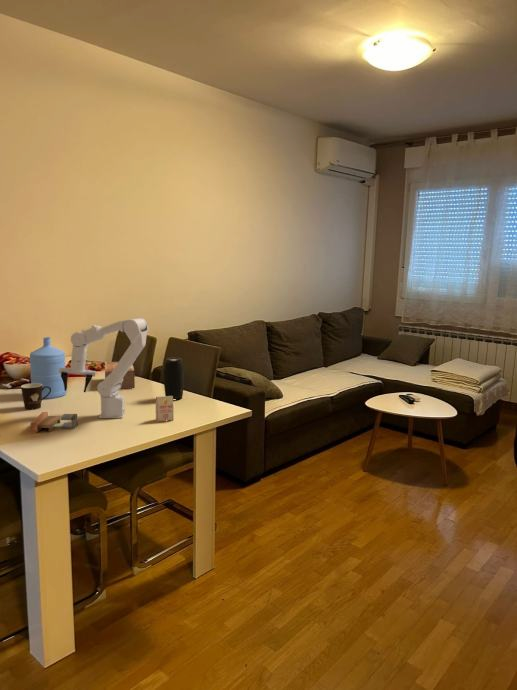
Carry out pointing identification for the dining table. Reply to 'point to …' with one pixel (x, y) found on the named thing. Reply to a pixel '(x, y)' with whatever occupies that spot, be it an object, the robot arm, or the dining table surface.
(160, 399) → the small printed carton
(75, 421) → the open storage bin
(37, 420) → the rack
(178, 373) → the portable speaker
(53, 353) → the water jug
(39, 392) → the coffee mug
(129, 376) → the tissue box cover
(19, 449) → the dining table surface
